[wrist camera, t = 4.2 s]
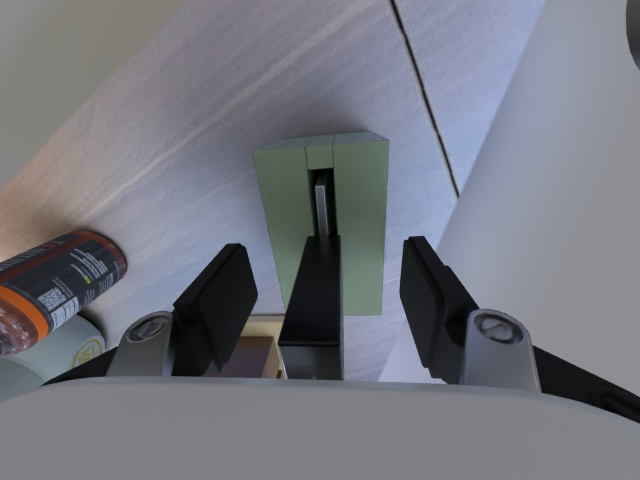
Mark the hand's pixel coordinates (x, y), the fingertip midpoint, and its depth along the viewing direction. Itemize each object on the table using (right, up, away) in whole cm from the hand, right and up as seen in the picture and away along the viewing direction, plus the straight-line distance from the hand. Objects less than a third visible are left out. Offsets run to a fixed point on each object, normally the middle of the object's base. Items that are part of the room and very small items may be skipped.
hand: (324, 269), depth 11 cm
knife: (+1, +4, +7) cm, 8 cm away
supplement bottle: (-22, 0, +13) cm, 25 cm away
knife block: (+1, +4, +8) cm, 9 cm away
